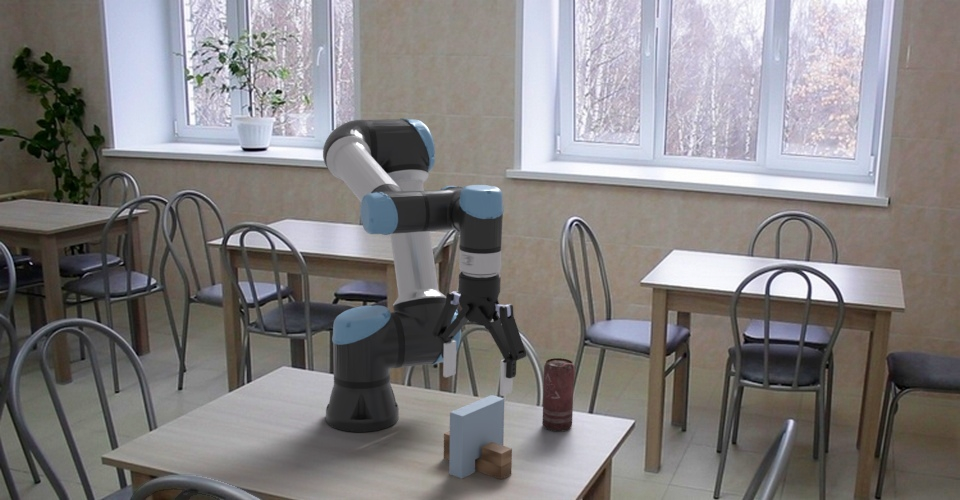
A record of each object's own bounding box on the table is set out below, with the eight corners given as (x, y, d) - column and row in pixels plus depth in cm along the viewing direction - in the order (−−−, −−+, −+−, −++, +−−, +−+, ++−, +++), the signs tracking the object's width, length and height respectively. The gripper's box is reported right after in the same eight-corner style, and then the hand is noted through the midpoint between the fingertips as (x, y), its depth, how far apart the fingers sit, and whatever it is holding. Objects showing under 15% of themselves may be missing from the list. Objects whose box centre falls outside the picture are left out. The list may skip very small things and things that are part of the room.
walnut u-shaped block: (443, 458, 187) (443, 433, 186) (454, 453, 189) (454, 428, 188) (501, 479, 178) (501, 453, 177) (511, 474, 180) (511, 448, 179)
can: (571, 433, 199) (573, 367, 196) (540, 430, 201) (542, 365, 198) (574, 422, 205) (577, 358, 202) (544, 419, 206) (546, 356, 204)
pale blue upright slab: (449, 473, 180) (449, 412, 177) (490, 453, 189) (491, 394, 186) (461, 478, 178) (462, 416, 175) (503, 458, 187) (504, 398, 184)
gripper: (414, 264, 181) (413, 373, 185) (522, 289, 165) (518, 407, 170) (442, 257, 186) (440, 363, 191) (548, 281, 171) (544, 395, 176)
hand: (477, 384), depth 180 cm, fingers open, 13 cm apart
